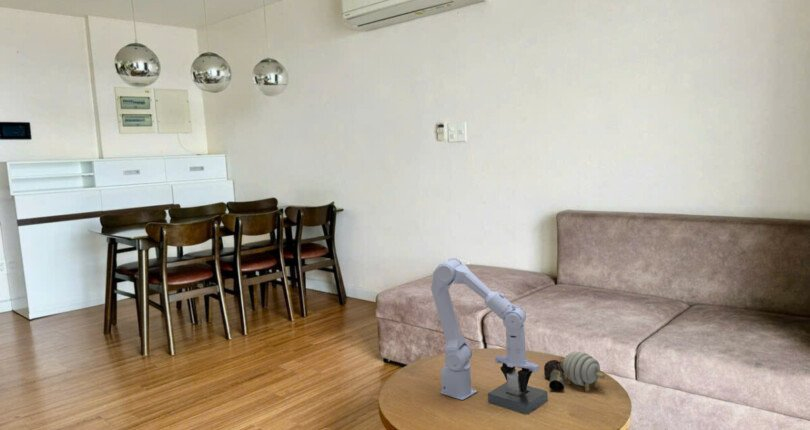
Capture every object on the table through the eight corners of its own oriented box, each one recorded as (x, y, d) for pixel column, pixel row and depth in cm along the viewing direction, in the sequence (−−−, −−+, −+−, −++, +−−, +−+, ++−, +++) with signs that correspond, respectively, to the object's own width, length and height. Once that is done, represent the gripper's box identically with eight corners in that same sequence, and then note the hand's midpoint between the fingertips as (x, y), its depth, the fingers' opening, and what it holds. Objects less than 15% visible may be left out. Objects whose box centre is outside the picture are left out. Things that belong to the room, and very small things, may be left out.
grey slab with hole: (488, 402, 176) (487, 393, 176) (509, 389, 185) (509, 380, 184) (527, 414, 166) (527, 404, 166) (547, 400, 175) (547, 391, 175)
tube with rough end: (564, 393, 180) (563, 376, 179) (543, 392, 182) (542, 375, 181) (565, 372, 196) (564, 356, 196) (545, 371, 198) (544, 355, 198)
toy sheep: (570, 374, 194) (569, 343, 192) (615, 389, 180) (614, 355, 179) (551, 383, 187) (550, 351, 186) (596, 399, 174) (595, 364, 173)
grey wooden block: (508, 397, 175) (506, 373, 174) (515, 392, 178) (513, 368, 177) (519, 401, 172) (517, 376, 171) (526, 396, 175) (524, 371, 174)
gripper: (488, 346, 176) (490, 387, 177) (529, 355, 166) (531, 399, 167) (501, 340, 181) (503, 380, 182) (541, 348, 171) (543, 391, 172)
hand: (517, 389), depth 175 cm, fingers closed on grey wooden block, 4 cm apart
